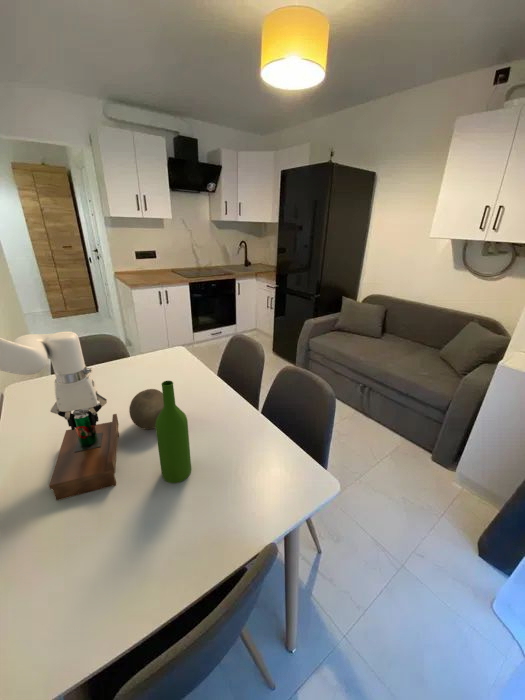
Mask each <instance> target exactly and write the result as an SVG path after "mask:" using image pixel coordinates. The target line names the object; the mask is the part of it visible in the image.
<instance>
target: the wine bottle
mask: <svg viewBox="0 0 525 700" xmlns="http://www.w3.org/2000/svg"><path fill="white" fill-rule="evenodd" d="M161 390H162V391H161V392H162V393H163V402H164V407H163V409H162V410H161V412H160V414H159V415H158V417H157V419H156V424H155V428H154V429H155V435H156V441H157V449H158V455H159V456H158V457H159V463H160V470H161V476H162V479H163V480H164V482H167V483H170V484H177V483H178V484H179V483H181V482H184V481H185V480H187V479H188V477H189V476H190V475H191V472H192V461H191V460H192V459H191V449H190V437H189V436H190V435H189V425H188V424H189V423H188V422H189V421H188V418H187V415H186V413H185V412H184V411H183V410H182V409H180V408H179V406H177V404H176V396H175V388H174V382H173V381H172V380H164V381H162V382H161Z"/></svg>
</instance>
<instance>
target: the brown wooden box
mask: <svg viewBox="0 0 525 700" xmlns="http://www.w3.org/2000/svg"><path fill="white" fill-rule="evenodd" d="M111 419H112V420H111V421H109V422H103V423H98V424H97V423H96V426H95V429H96V433H97V441H96V442H95V443H94V444H92V445H90V446H82V445H80V443H79V440H78V436H77V432H76V429H74V430H72V429H71V428H70V429H66V430H65V432H64V436H63V439H62V442H61V445H60V448H59V451H58V455H57V459H56V461H55V464H54V466H53V467H54V468H53V470H52V474H51V477H50V480H49V483H48V487H49V490H52V492H53V495H54V498H55V501H60V500H64V499H68V498H72V497H75V496H79V495H85V494H87V493H91V492H95V491H100V490H102V489H107V488H110V487H114V486H117V480H116V475H115V474H116V465H117V454H118V453H117V451H118V438H119V437H120V431H119V425H120V424H119V418H118V414H117V413H113V414H112V418H111Z"/></svg>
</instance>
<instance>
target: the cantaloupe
mask: <svg viewBox="0 0 525 700" xmlns="http://www.w3.org/2000/svg"><path fill="white" fill-rule="evenodd" d="M163 407H164V402H163V392H162V391H160V390H159V389H157V388H148V389H144V390H141V391H139V392H138V393H136V395H134V396H133V398H132V400H131V401H130V405H129V411H128V412H129V417H130V419H131V421H132V422H133V424H134V425H135V426H136V427H137V428H139V429H141V430H142V429H143V430H152V429H156V428H155V424H156V419H157V417H158V415H159V414H160V412H161V410H162V409H163Z"/></svg>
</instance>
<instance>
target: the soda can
mask: <svg viewBox="0 0 525 700" xmlns="http://www.w3.org/2000/svg"><path fill="white" fill-rule="evenodd" d="M72 414H73V415H72V418H73V421H74V425H75V429H76V432H77V436H78V440H79V443H80V445H82V446H90V445H92V444H94V443H95V442H96V441H97V433H96V429H95V426H93V423H92V419H91V412H90V410H89V409H88V408H86V409H80V410H74V411H72Z"/></svg>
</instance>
